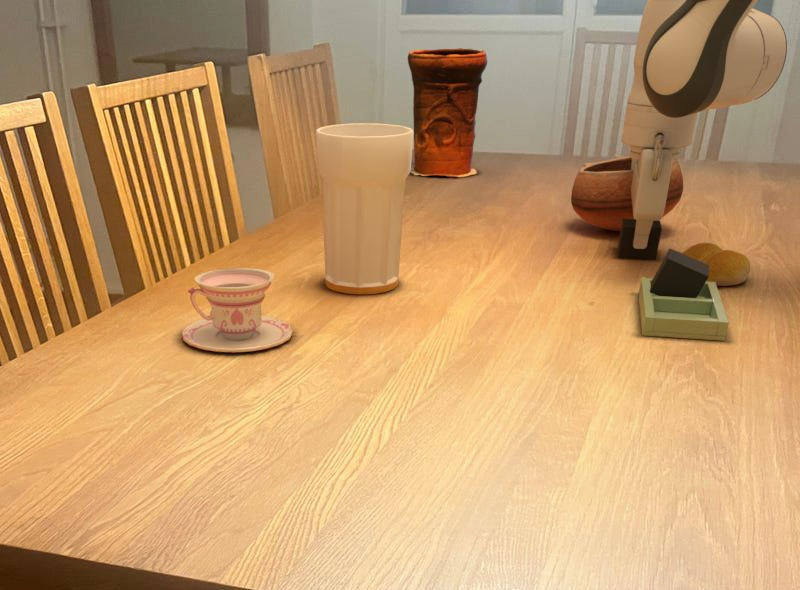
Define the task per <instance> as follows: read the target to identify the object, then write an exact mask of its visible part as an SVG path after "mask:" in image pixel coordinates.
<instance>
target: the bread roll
mask: <svg viewBox="0 0 800 590" xmlns="http://www.w3.org/2000/svg"><path fill="white" fill-rule="evenodd" d="M681 253H682V254H684V255H686V256H689V257H691V258H693V259H695V260H698V261H700V262H702V263H704V264H707V265H709V277H708V279H707V282H715V283H716V286H717V287H732V286H737V285H741V284H742V283H744V282H745V281H746V280H747V279H748V278H749V275H750V272H751V261H750V260H749V258H748V257H747V255H745V254H743V253H741V252H737V251H736V250H735V251H734V250H732V249H722V248H721V246H719V245H716V244H714V243H711V242H699V243H696V244H693V245H691V246H689V247H687V248H686V249H685V250H684V251H682V252H681Z"/></svg>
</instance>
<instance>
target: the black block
mask: <svg viewBox="0 0 800 590" xmlns="http://www.w3.org/2000/svg"><path fill="white" fill-rule="evenodd" d="M635 227H636V219H622V225H621V231H619V239H618V244H617V258H618V259H632V260H650V261H656V260H657V256H658V251H659V247H660V241H661V235H662V230H663V228H662V223H661V220H659V221H653V224H652V227H651V230H650V234H649V238H648V243H647V247H646V248H645V249H635V248H634V247H633V240H634V234H635Z"/></svg>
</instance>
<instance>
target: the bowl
mask: <svg viewBox="0 0 800 590" xmlns="http://www.w3.org/2000/svg"><path fill="white" fill-rule="evenodd" d="M631 164H632V158H630V157H629V155H627V156H621V157H617V158H616V157H615V158H613V159H607V160H602V161H601V160H600V161H596V162H586V163H584V164H583V166H582V167H581V168H580V169H579V170H578V172H577V173H576V176H575V179H574V181H573V184H572V189H571V195H570V196H571V197H570V203H571V206H572V209H573V212H574V213H576V214H577V215H578V216H579V218H581V219H582V220H583V221H585V222H586V223H588V224H590V225H592V226H594V227H597V228H600V229H603V230H608V231H613V232H620V231H621V225H622V219H634V217H633V206H632V196H631V185H632V178H633V170H631ZM653 181H657V179H656V180H654V179H653ZM683 193H684V177H683V172H682V168H681V165H680V162H679V160H678V159H677V160H673V161H672V168H671V175H670V181H669V187H668V193H667V199H666V204H665V209H664V214H663V217H662V218H664V217H666V216H667V215H668V214H669V213H671V211H673V210H674V209H675V207H676V206H677V205H678V204H679V202H680V201H681V199H682V196H683Z"/></svg>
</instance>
